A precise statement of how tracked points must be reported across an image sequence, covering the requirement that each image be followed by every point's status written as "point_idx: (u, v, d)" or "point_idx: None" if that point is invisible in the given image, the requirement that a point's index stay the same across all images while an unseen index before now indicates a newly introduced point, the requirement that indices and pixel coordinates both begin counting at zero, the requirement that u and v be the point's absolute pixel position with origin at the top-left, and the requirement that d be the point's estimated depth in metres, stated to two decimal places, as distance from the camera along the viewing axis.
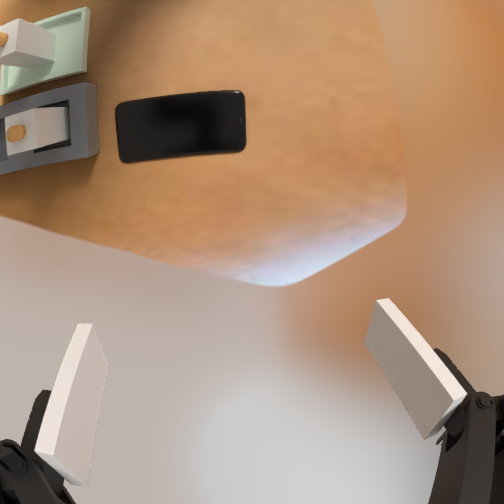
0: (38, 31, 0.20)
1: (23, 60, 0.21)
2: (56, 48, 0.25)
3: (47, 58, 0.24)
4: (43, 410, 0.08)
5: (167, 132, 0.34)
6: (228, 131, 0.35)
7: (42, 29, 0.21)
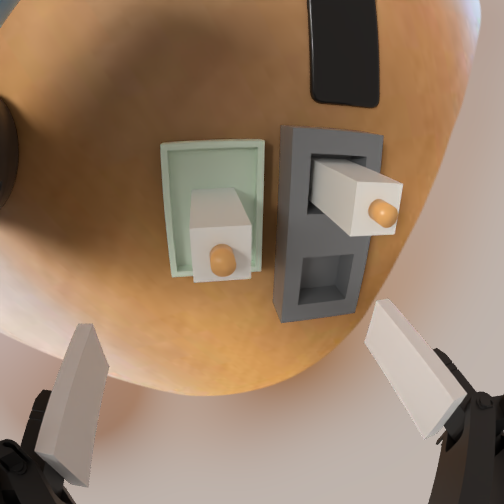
0: (199, 205, 0.23)
1: None
2: (215, 186, 0.28)
3: (235, 193, 0.27)
4: (43, 410, 0.08)
5: (353, 47, 0.24)
6: None
7: (193, 202, 0.24)
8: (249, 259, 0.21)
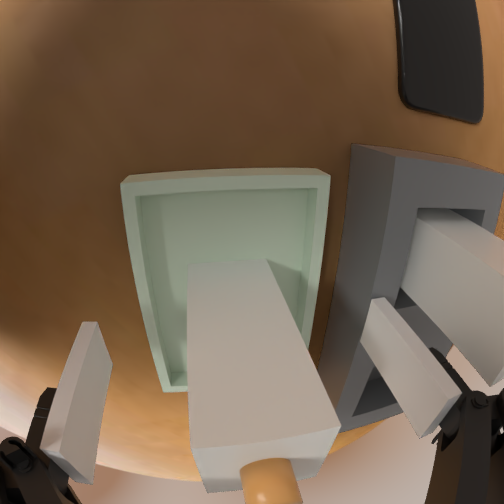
0: (204, 328, 0.11)
1: None
2: (231, 257, 0.15)
3: (272, 280, 0.14)
4: (48, 408, 0.08)
5: (454, 27, 0.11)
6: None
7: (192, 313, 0.12)
8: (320, 462, 0.08)
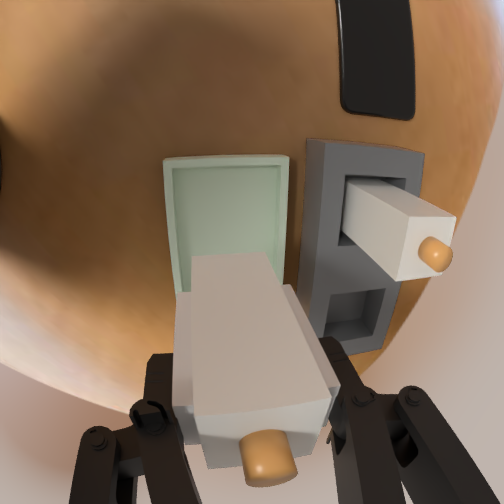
0: (207, 312, 0.12)
1: None
2: (229, 211, 0.24)
3: (271, 270, 0.15)
4: (160, 372, 0.10)
5: (388, 50, 0.20)
6: None
7: (196, 299, 0.13)
8: (314, 437, 0.09)
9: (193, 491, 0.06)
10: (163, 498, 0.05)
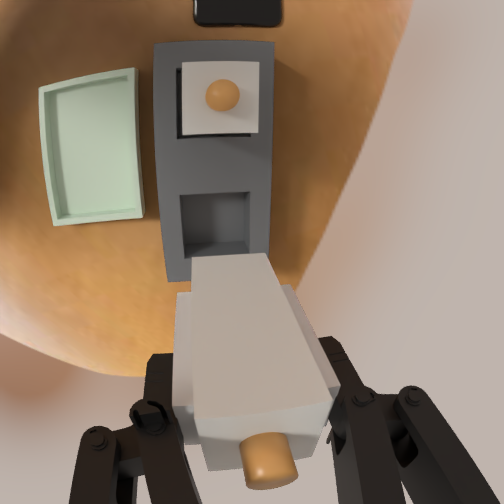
0: (207, 314, 0.12)
1: None
2: (90, 124, 0.22)
3: (271, 271, 0.15)
4: (160, 372, 0.10)
5: None
6: None
7: (196, 301, 0.13)
8: (315, 440, 0.09)
9: (193, 491, 0.06)
10: (163, 498, 0.05)
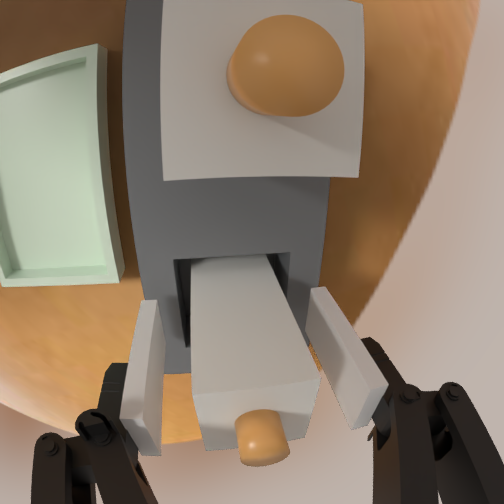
0: (206, 300, 0.13)
1: None
2: (37, 138, 0.13)
3: (266, 262, 0.16)
4: (116, 381, 0.10)
5: None
6: None
7: (195, 289, 0.13)
8: (307, 419, 0.10)
9: (144, 499, 0.05)
10: None
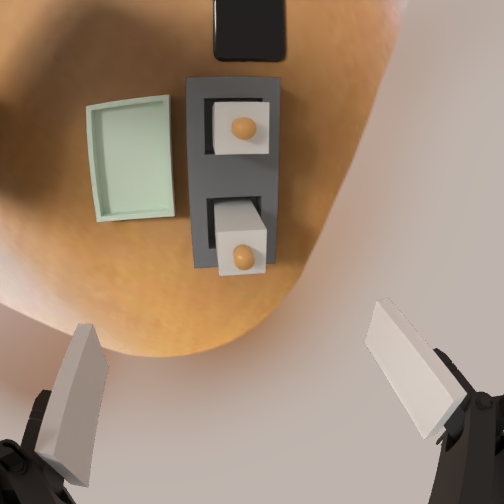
0: (222, 213, 0.29)
1: None
2: (131, 139, 0.29)
3: (251, 202, 0.32)
4: (43, 410, 0.08)
5: (256, 10, 0.25)
6: None
7: (217, 210, 0.29)
8: (264, 257, 0.26)
9: None
10: None
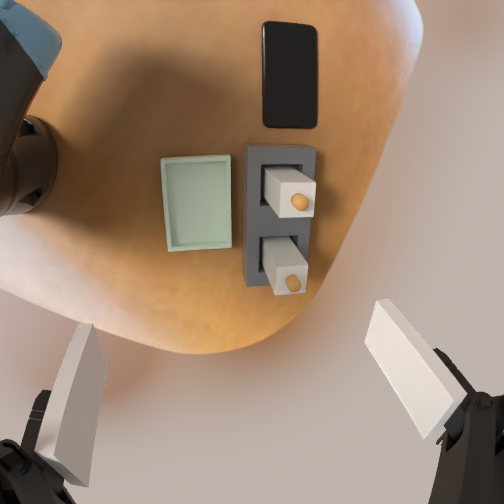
0: (272, 249, 0.41)
1: None
2: (198, 187, 0.41)
3: (289, 239, 0.44)
4: (43, 410, 0.08)
5: (296, 84, 0.37)
6: (299, 36, 0.33)
7: (268, 246, 0.41)
8: (305, 282, 0.38)
9: None
10: None
